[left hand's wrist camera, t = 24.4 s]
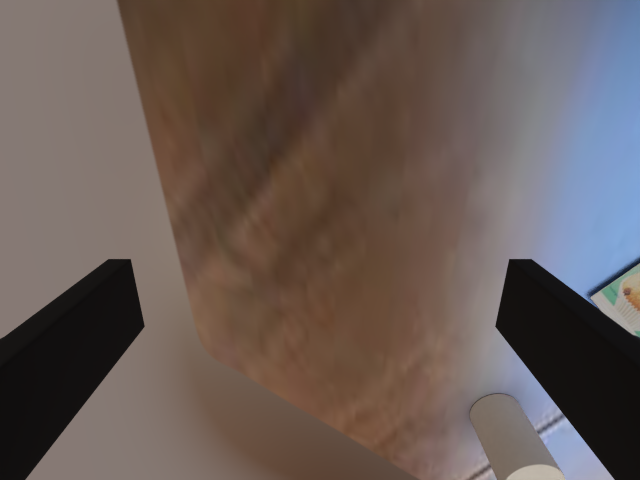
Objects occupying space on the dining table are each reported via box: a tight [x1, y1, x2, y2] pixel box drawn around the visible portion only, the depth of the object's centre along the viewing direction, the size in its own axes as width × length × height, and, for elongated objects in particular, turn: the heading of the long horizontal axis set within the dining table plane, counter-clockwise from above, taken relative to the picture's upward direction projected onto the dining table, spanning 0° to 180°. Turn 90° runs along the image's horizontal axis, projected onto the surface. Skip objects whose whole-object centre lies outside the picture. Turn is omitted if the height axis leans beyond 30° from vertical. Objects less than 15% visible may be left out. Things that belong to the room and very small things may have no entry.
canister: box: [470, 394, 565, 480], centre depth 36 cm, size 6×6×8 cm
